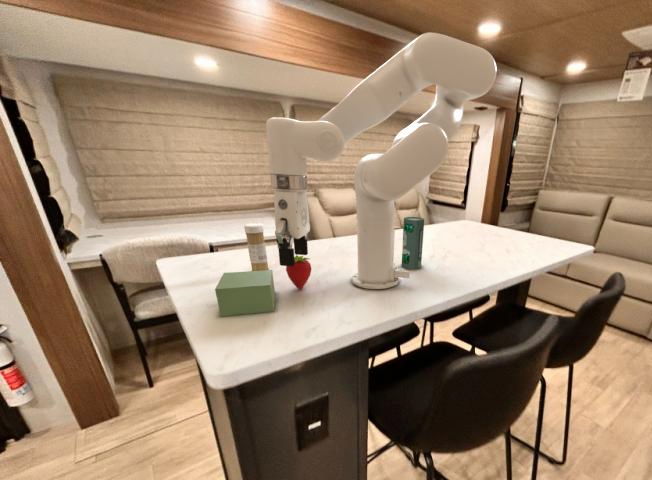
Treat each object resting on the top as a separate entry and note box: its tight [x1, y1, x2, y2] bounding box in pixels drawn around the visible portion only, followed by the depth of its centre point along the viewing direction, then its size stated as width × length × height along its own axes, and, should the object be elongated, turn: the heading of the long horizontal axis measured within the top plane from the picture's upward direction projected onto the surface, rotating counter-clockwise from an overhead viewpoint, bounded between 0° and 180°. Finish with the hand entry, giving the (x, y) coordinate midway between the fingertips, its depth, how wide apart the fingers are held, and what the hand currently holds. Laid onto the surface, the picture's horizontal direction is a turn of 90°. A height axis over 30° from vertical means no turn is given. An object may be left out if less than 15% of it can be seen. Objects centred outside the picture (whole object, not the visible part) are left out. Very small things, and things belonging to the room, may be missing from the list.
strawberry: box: [285, 250, 312, 290], centre depth 75 cm, size 6×8×10 cm
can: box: [401, 216, 425, 271], centre depth 95 cm, size 6×6×15 cm
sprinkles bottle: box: [243, 222, 270, 271], centre depth 85 cm, size 5×5×14 cm
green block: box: [214, 269, 276, 317], centre depth 67 cm, size 10×10×6 cm
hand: (294, 259), depth 74 cm, fingers open, 9 cm apart
